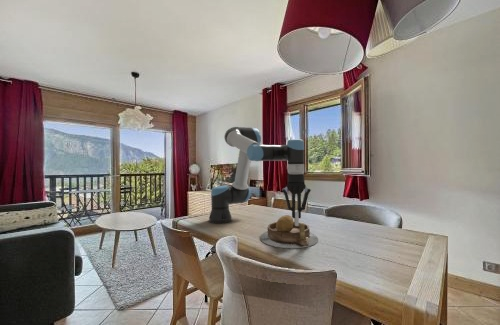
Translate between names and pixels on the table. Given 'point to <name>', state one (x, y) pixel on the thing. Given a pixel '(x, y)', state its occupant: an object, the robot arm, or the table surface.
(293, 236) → the brown round shallow piece
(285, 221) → the potato
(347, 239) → the table surface
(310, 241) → the base
